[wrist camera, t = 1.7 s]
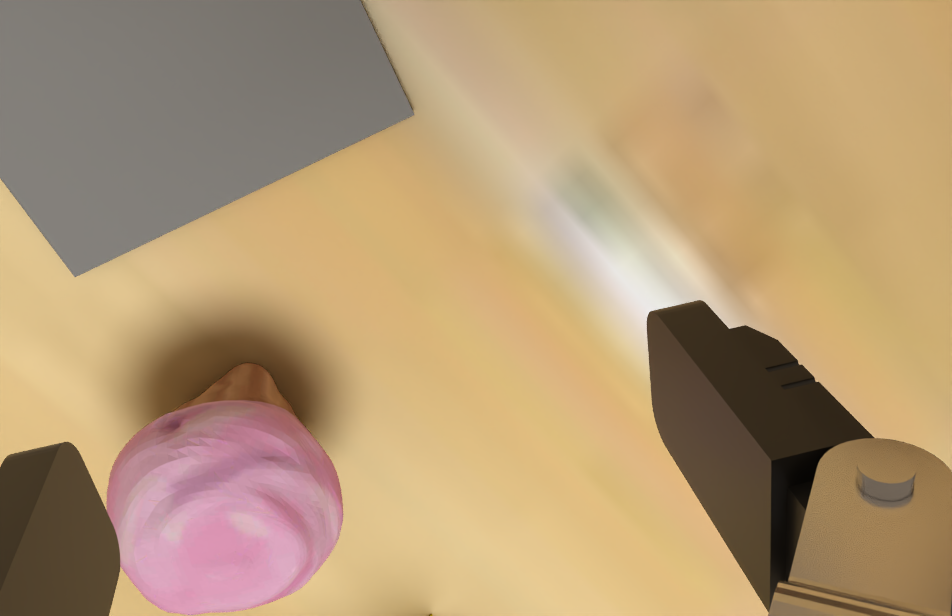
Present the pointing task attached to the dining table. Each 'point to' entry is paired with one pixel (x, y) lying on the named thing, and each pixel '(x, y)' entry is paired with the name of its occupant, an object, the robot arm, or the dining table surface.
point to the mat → (176, 108)
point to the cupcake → (224, 500)
